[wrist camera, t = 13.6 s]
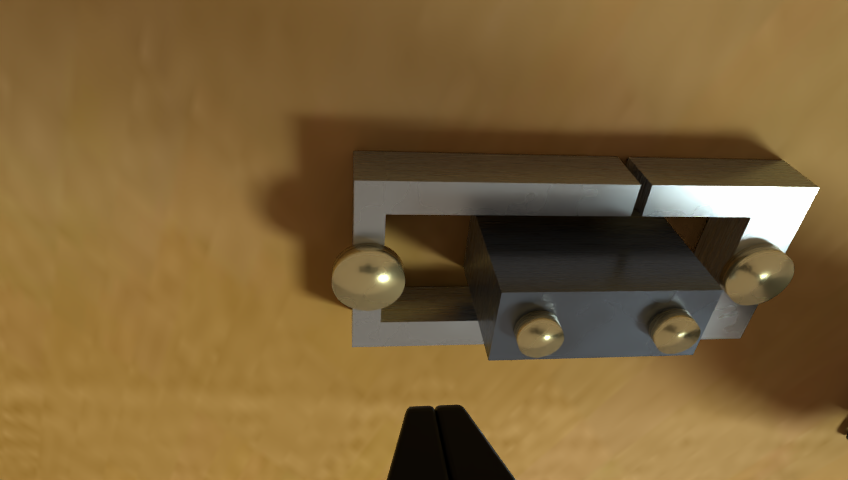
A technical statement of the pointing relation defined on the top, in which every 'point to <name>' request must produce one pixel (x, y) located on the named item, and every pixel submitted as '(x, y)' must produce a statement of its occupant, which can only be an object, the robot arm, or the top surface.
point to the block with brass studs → (585, 287)
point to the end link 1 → (454, 195)
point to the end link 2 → (731, 224)
